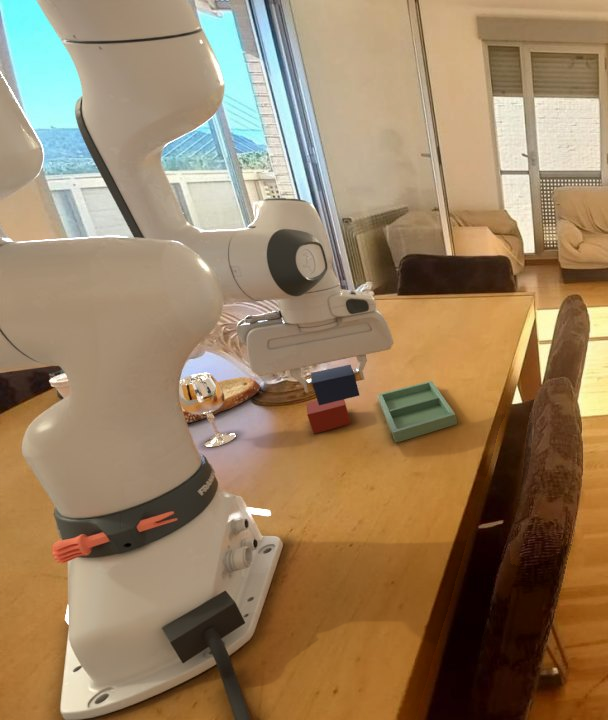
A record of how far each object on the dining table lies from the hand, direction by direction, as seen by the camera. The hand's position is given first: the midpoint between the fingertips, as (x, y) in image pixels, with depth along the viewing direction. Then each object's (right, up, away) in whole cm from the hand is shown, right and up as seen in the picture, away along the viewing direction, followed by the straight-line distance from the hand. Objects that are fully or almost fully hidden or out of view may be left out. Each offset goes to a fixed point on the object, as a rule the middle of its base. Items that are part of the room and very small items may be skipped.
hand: (335, 385), depth 80 cm
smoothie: (-54, -8, +12) cm, 55 cm away
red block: (-6, -7, +8) cm, 13 cm away
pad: (0, -2, +1) cm, 2 cm away
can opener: (-69, -4, +22) cm, 73 cm away
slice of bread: (-37, -6, +15) cm, 40 cm away
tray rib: (+9, -6, +11) cm, 15 cm away
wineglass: (-23, -10, +4) cm, 25 cm away
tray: (+9, -6, +11) cm, 15 cm away
